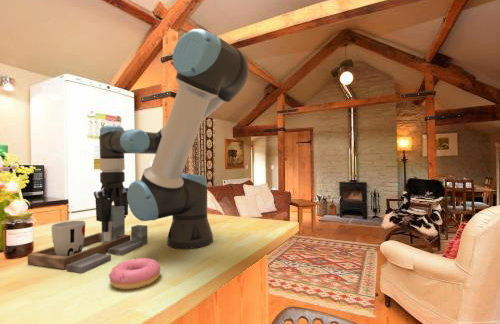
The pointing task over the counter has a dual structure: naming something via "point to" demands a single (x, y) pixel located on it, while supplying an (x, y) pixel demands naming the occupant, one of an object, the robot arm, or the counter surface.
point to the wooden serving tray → (118, 237)
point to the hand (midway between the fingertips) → (113, 238)
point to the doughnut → (134, 273)
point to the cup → (68, 237)
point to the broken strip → (112, 251)
